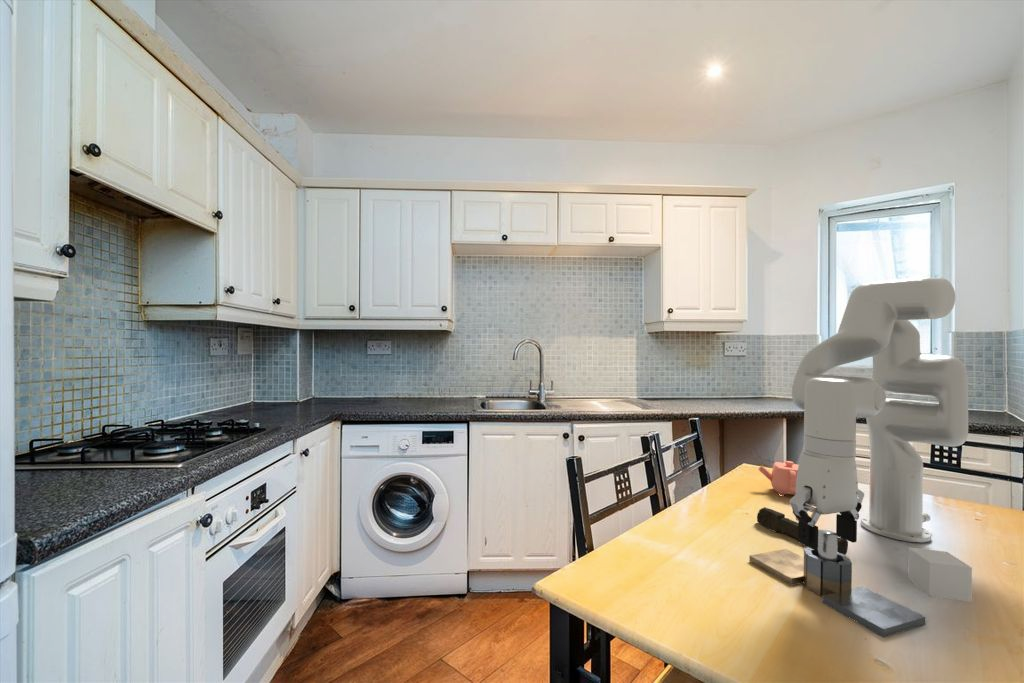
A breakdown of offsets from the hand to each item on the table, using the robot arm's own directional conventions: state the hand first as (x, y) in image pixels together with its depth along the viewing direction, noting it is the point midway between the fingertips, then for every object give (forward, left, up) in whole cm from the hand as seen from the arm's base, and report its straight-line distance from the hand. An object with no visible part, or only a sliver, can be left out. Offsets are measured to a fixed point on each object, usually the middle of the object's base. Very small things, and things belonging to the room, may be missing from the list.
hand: (827, 542), depth 77 cm
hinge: (0, 0, -8) cm, 8 cm away
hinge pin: (0, 0, -8) cm, 8 cm away
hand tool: (-14, -17, -9) cm, 24 cm away
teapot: (-42, -41, -9) cm, 59 cm away
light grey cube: (-20, +6, -9) cm, 23 cm away
